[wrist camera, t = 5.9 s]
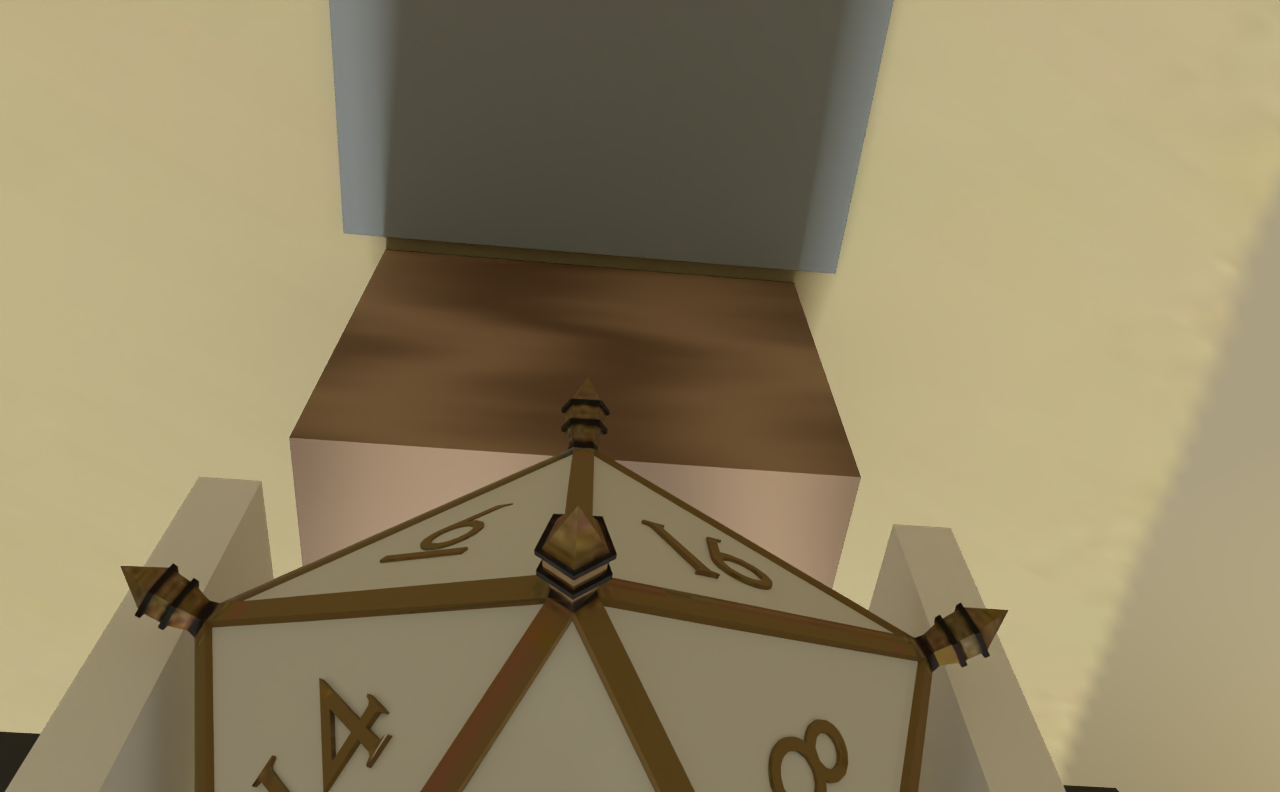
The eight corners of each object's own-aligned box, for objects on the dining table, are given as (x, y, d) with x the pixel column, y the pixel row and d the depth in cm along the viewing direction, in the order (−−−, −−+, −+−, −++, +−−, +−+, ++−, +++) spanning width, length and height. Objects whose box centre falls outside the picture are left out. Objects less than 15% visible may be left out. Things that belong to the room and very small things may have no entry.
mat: (346, 229, 26) (343, 233, 26) (315, -273, 21) (311, -273, 20) (833, 268, 27) (835, 273, 27) (933, -203, 21) (936, -203, 21)
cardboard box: (395, 491, 31) (319, 726, 23) (385, 249, 27) (289, 437, 19) (749, 514, 31) (790, 750, 24) (793, 283, 27) (861, 477, 20)
